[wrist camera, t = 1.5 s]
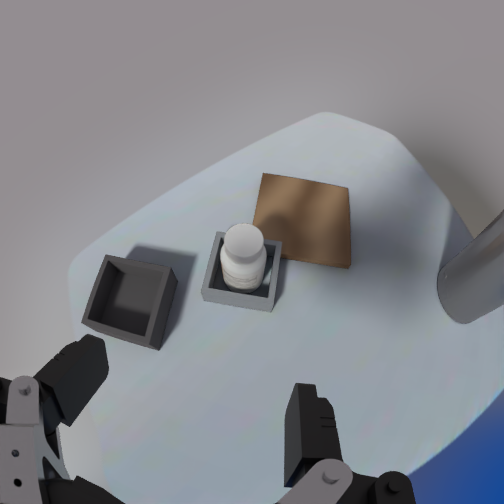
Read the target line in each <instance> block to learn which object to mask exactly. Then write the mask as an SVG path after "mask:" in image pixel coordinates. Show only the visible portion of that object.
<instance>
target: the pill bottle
mask: <svg viewBox="0 0 504 504" xmlns="http://www.w3.org/2000/svg"><path fill="white" fill-rule="evenodd" d="M263 244H264V238H263V235H262V233H261V231H260V230H259V229H258V228H257V227H255V226H253V225H251V224H246V223H242V224H237V225H235V226H233V227H231V228H230V229H229V230H228V231H227V232H226V234H225V238H224V244H223V246H222V248H221V253H220V258H221V266H222V272H223V278H224V282H225V284H226V285H227V287H228V288H229V289H231V290H232V291H234V292H236V293H240V294H246V293H251V292H253V291H255V290H256V289H257V288H258V287H259V286H260V285H261V283H262V280H263V276H264V269H265V264H266V257H267V254H266V249H265V246H264V245H263Z"/></svg>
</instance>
